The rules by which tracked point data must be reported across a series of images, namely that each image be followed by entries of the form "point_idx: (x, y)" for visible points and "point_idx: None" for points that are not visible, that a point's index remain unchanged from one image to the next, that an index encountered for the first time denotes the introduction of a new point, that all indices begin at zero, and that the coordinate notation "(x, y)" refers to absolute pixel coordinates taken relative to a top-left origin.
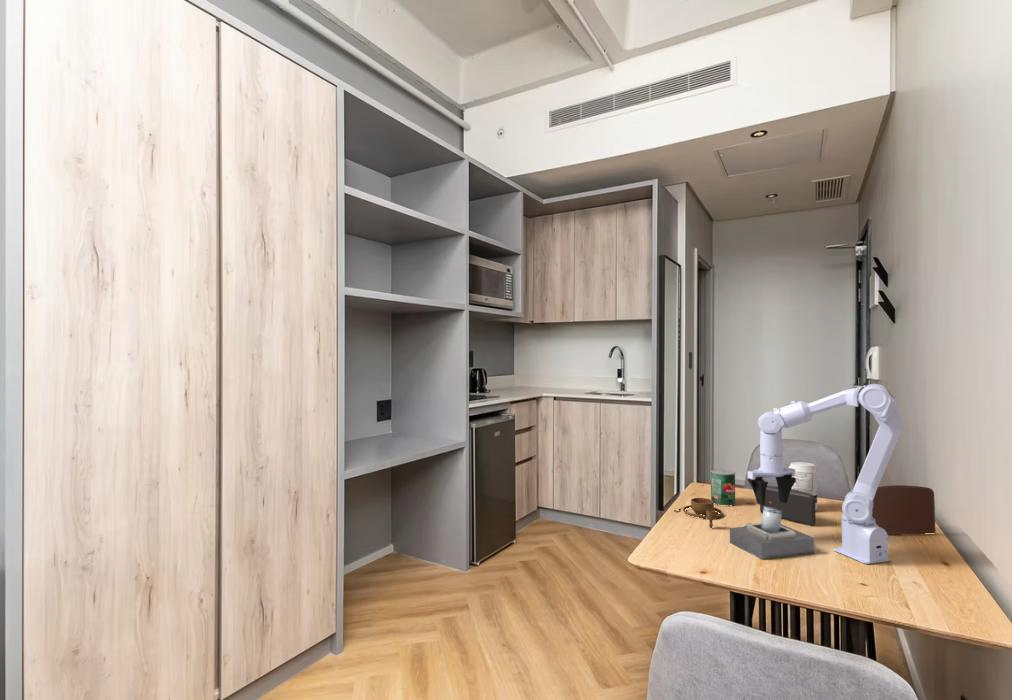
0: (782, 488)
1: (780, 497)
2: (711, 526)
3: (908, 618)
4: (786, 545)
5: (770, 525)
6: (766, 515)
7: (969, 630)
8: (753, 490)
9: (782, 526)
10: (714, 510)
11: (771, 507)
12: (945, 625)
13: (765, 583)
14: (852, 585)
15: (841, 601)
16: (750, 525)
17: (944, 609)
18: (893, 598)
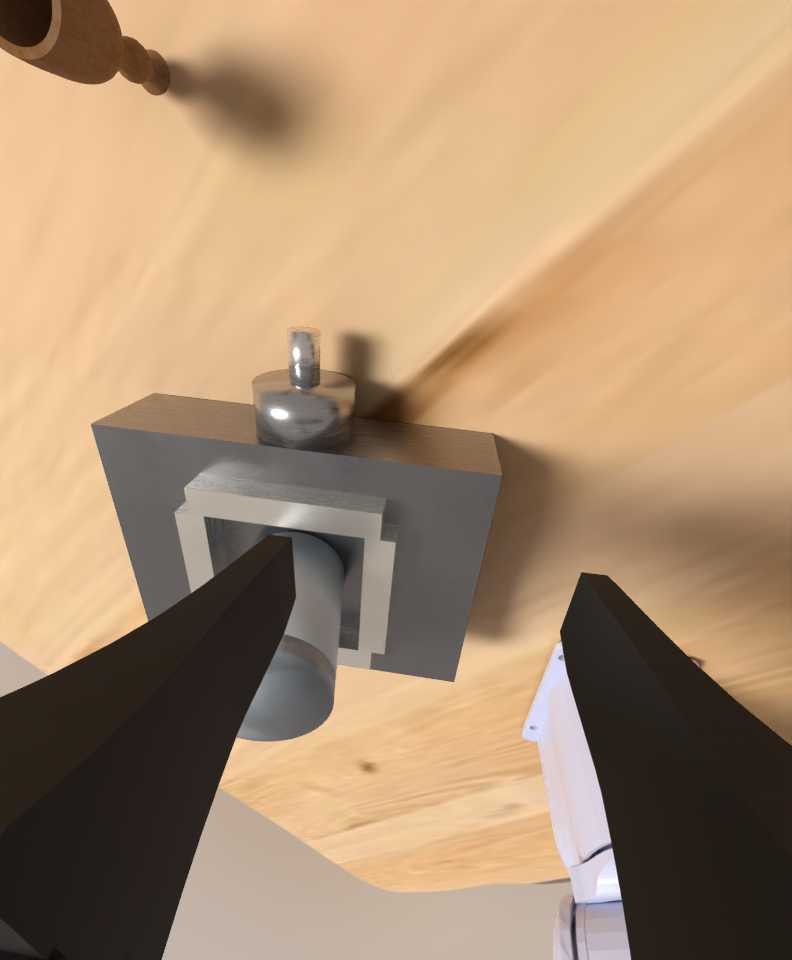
0: (638, 768)
1: (592, 619)
2: (137, 82)
3: (307, 836)
4: None
5: None
6: None
7: (370, 874)
8: (144, 628)
9: (382, 597)
10: (58, 4)
11: (288, 672)
12: (348, 860)
13: None
14: (332, 760)
15: (233, 776)
16: (194, 513)
17: (415, 851)
18: (363, 809)
